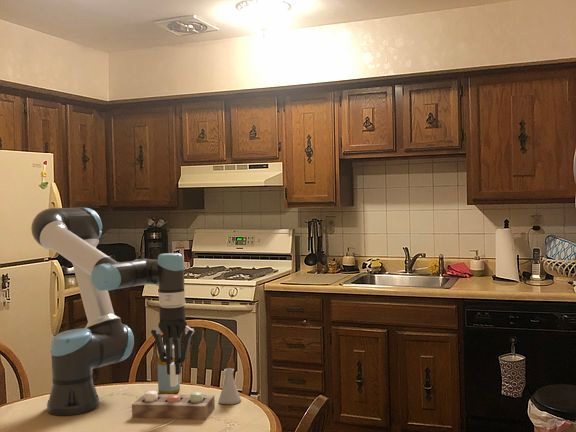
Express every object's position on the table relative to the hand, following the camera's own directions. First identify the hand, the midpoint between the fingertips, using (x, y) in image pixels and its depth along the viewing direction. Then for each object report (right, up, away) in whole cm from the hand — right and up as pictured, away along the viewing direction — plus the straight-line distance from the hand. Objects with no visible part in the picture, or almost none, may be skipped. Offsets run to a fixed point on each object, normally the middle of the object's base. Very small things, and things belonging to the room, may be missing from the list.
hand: (174, 385), depth 183 cm
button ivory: (-7, -6, +1) cm, 9 cm away
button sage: (+7, -6, -1) cm, 9 cm away
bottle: (-6, -8, +21) cm, 24 cm away
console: (0, -8, 0) cm, 8 cm away
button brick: (0, -7, 0) cm, 7 cm away
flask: (+15, -8, +10) cm, 20 cm away
